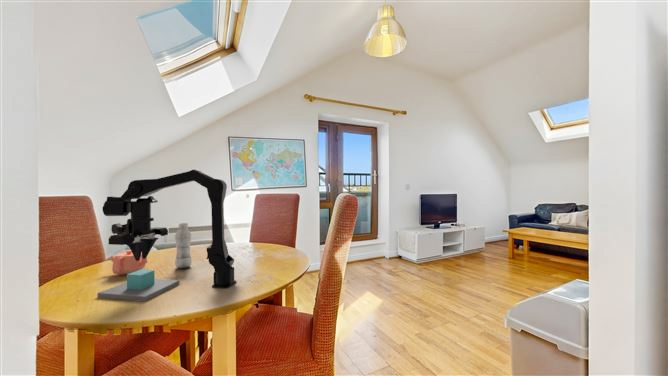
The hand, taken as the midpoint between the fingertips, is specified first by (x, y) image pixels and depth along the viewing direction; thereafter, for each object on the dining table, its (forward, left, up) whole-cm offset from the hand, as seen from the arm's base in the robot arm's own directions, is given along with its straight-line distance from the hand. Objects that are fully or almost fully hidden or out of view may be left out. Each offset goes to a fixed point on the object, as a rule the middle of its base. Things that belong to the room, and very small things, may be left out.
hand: (140, 259), depth 94 cm
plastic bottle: (+4, -26, -11) cm, 29 cm away
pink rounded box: (+22, -16, -11) cm, 29 cm away
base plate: (0, 0, -11) cm, 11 cm away
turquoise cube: (0, 0, -10) cm, 10 cm away
